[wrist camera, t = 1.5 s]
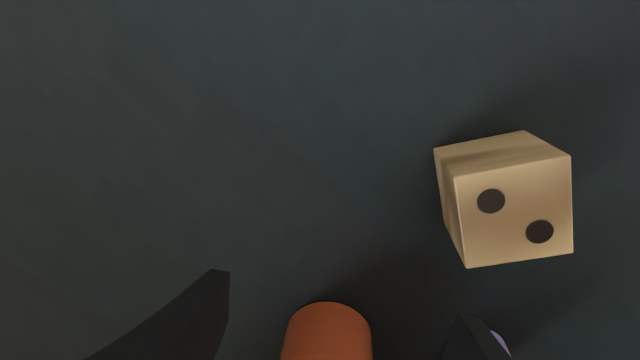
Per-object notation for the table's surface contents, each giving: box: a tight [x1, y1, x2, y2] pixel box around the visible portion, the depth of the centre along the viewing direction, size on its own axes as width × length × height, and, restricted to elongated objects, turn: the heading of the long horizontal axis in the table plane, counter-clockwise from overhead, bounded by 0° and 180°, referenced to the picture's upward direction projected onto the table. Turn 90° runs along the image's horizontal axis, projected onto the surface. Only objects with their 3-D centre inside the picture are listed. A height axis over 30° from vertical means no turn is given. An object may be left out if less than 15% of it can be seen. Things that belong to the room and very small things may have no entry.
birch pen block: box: [433, 130, 573, 269], centre depth 18 cm, size 4×4×5 cm
